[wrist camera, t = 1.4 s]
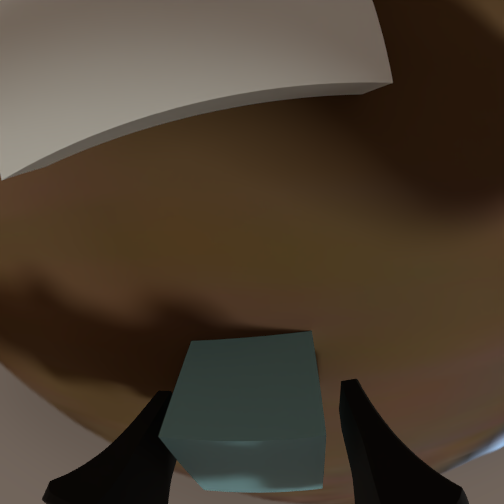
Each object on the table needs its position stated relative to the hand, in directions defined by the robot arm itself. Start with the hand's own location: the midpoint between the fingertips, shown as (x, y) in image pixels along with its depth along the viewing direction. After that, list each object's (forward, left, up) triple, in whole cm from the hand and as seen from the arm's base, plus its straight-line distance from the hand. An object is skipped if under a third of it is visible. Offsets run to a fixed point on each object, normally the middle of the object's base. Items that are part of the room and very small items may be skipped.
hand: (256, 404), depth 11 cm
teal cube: (0, 0, -2) cm, 2 cm away
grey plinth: (+1, -17, -2) cm, 17 cm away
